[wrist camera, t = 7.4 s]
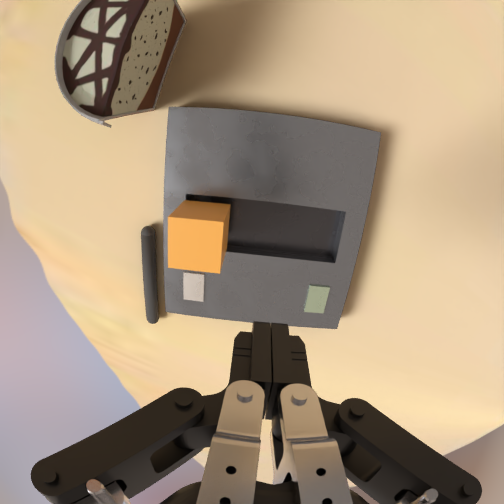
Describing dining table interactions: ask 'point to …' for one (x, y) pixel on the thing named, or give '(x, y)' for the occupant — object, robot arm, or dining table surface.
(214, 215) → the lever
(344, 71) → the dining table surface
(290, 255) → the panel
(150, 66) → the food container
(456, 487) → the robot arm
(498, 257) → the dining table surface
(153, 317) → the grey rod
